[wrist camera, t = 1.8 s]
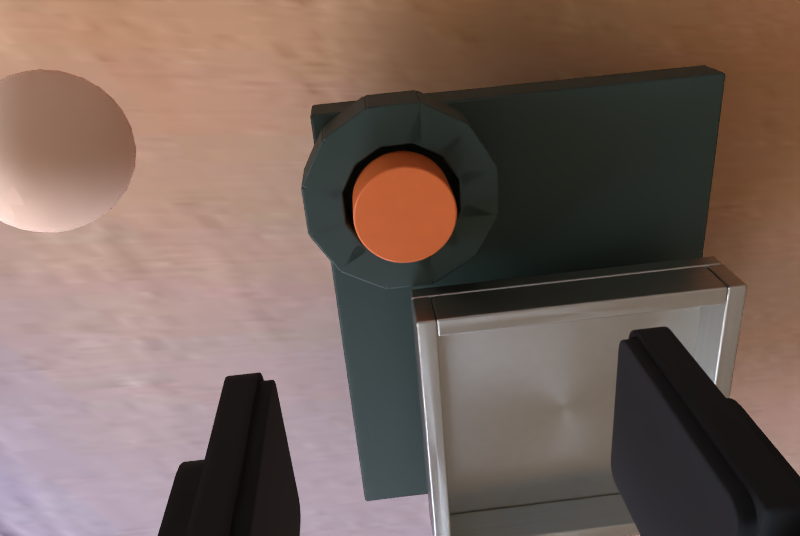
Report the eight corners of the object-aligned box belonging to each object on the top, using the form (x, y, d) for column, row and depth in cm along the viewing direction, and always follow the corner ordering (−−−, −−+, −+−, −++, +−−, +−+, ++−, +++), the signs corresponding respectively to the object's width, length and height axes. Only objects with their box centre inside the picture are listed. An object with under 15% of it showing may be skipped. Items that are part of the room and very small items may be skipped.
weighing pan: (409, 288, 22) (416, 322, 20) (714, 255, 23) (748, 285, 21) (429, 515, 27) (436, 560, 25) (683, 484, 27) (709, 526, 25)
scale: (295, 92, 22) (289, 115, 19) (707, 50, 23) (756, 67, 20) (353, 478, 30) (355, 534, 27) (663, 441, 30) (694, 492, 27)
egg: (176, 113, 22) (141, 165, 17) (108, 218, 24) (56, 296, 18) (43, 25, 21) (-39, 54, 16) (-24, 143, 22) (-119, 205, 17)
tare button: (346, 155, 21) (347, 172, 19) (447, 144, 21) (455, 160, 19) (357, 247, 22) (359, 269, 20) (452, 237, 22) (459, 257, 21)
